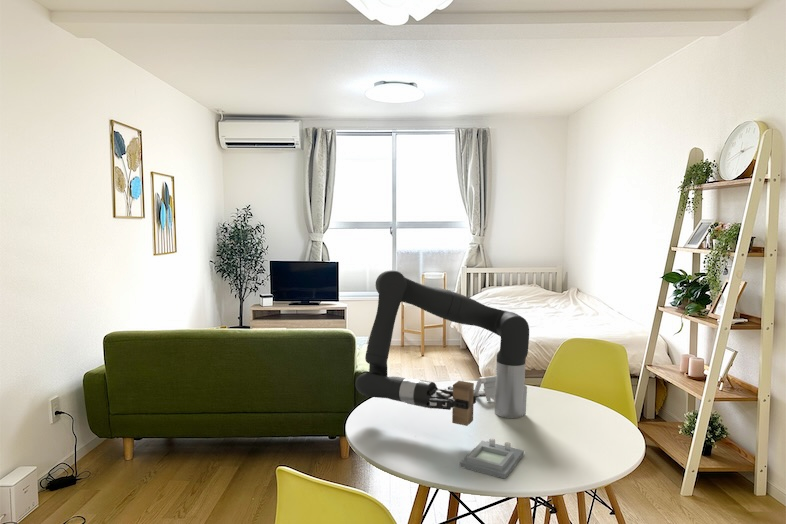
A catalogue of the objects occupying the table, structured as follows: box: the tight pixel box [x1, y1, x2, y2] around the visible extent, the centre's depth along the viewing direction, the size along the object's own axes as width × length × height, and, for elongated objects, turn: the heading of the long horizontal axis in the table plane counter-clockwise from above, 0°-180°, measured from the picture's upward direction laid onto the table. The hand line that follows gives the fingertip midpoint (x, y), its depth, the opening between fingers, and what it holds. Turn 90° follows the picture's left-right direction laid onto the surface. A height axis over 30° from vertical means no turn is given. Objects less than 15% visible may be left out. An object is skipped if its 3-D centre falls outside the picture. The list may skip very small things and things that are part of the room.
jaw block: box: [451, 380, 475, 427], centre depth 152 cm, size 4×4×11 cm
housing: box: [459, 438, 525, 480], centre depth 142 cm, size 16×12×3 cm
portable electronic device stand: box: [474, 375, 496, 402], centre depth 192 cm, size 9×8×8 cm
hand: (472, 402), depth 151 cm, fingers closed on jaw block, 4 cm apart
